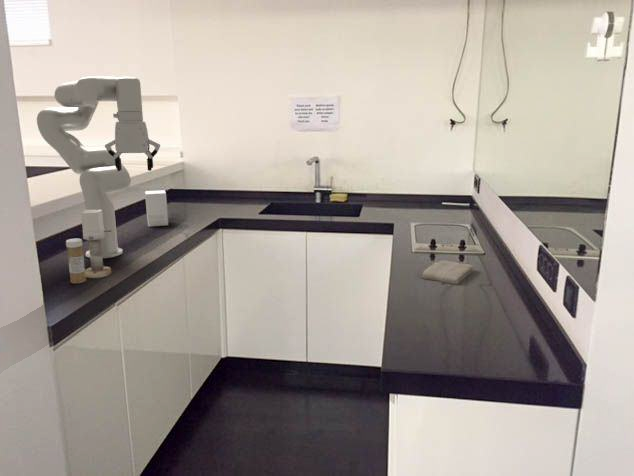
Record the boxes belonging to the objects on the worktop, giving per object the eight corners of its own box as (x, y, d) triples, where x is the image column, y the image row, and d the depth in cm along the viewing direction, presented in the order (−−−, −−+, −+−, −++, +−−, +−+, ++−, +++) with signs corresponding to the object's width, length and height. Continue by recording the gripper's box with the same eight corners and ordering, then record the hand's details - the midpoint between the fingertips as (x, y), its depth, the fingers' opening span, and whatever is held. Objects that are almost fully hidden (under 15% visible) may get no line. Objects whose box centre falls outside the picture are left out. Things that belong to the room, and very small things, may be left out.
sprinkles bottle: (73, 279, 168) (68, 238, 165) (88, 279, 168) (84, 237, 165) (68, 284, 164) (63, 241, 160) (83, 283, 164) (79, 241, 161)
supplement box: (167, 221, 251) (165, 189, 247) (168, 225, 242) (166, 192, 239) (147, 222, 248) (144, 190, 244) (147, 226, 240) (145, 193, 236)
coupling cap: (80, 240, 166) (77, 214, 164) (87, 234, 174) (84, 209, 171) (108, 240, 167) (106, 213, 165) (114, 234, 175) (112, 208, 173)
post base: (88, 270, 176) (85, 235, 174) (113, 270, 177) (110, 235, 174) (81, 278, 169) (77, 241, 166) (107, 277, 170) (104, 241, 167)
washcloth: (474, 271, 179) (475, 262, 179) (457, 286, 165) (458, 277, 164) (440, 266, 186) (440, 257, 185) (421, 280, 171) (421, 270, 170)
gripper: (99, 117, 167) (104, 172, 172) (156, 117, 169) (159, 171, 174) (105, 116, 175) (110, 169, 179) (160, 117, 177) (163, 168, 181)
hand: (134, 170), depth 176 cm, fingers open, 9 cm apart
